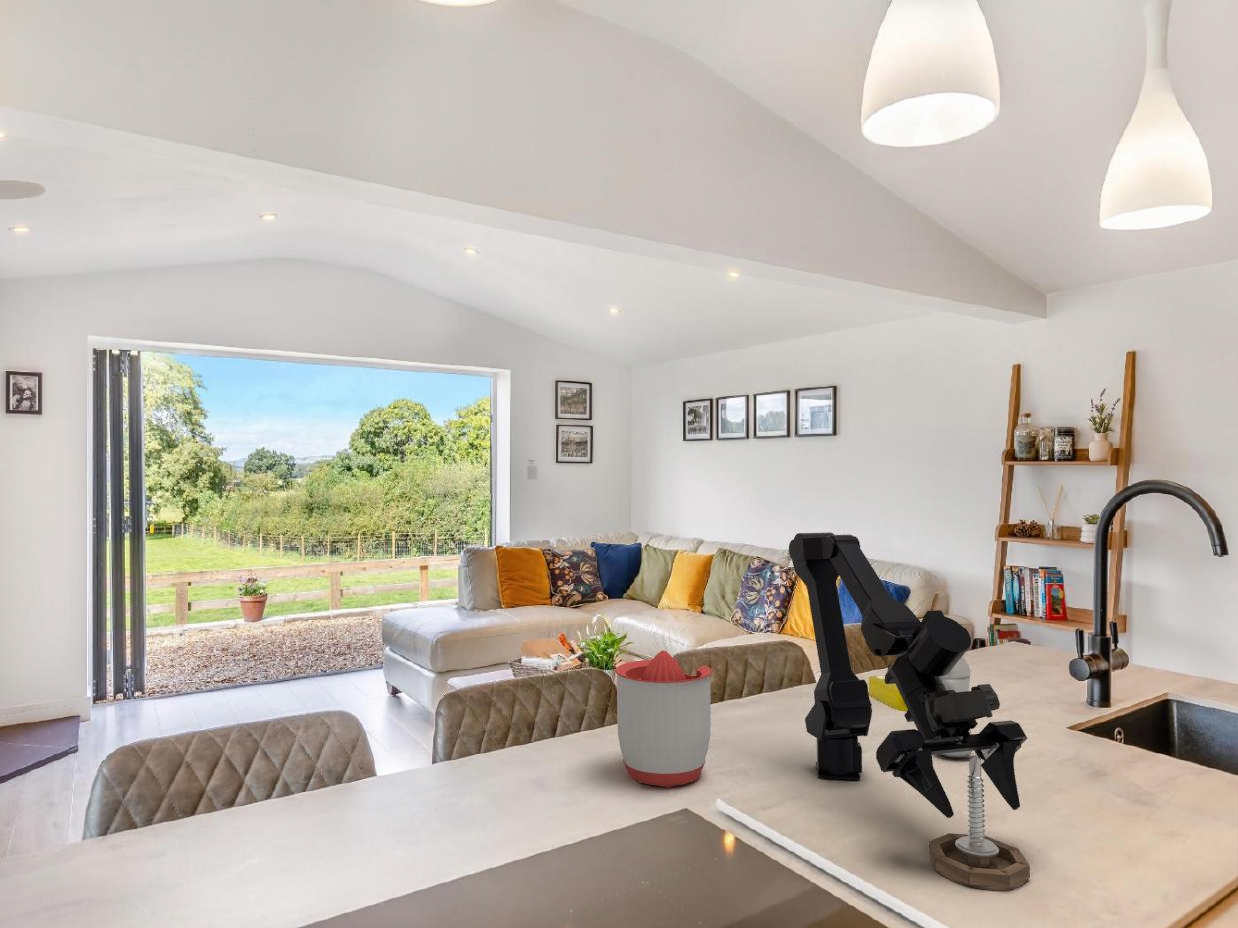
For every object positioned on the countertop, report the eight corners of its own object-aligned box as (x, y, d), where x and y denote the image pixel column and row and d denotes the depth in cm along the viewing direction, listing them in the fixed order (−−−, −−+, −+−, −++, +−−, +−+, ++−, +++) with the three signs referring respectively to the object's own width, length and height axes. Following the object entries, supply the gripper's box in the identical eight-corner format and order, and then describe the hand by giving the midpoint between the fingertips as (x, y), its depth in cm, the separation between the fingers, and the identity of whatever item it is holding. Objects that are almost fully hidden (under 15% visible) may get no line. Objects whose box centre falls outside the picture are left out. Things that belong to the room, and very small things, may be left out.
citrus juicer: (738, 770, 128) (737, 647, 129) (671, 802, 115) (670, 665, 116) (664, 749, 139) (664, 636, 139) (595, 776, 126) (595, 650, 127)
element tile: (966, 709, 164) (966, 686, 164) (900, 713, 162) (900, 690, 162) (926, 691, 179) (925, 670, 179) (865, 695, 176) (864, 673, 177)
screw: (946, 858, 96) (977, 851, 98) (977, 876, 92) (1008, 869, 94) (944, 751, 97) (974, 746, 99) (974, 764, 92) (1006, 758, 94)
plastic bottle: (977, 763, 131) (975, 642, 132) (934, 760, 132) (932, 641, 133) (968, 750, 137) (966, 635, 138) (927, 748, 139) (925, 634, 139)
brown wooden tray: (940, 885, 91) (940, 869, 91) (923, 844, 101) (922, 830, 101) (1039, 894, 88) (1039, 878, 89) (1011, 851, 99) (1011, 837, 99)
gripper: (887, 666, 97) (946, 789, 86) (1014, 657, 102) (1087, 773, 91) (854, 712, 104) (905, 831, 93) (974, 703, 109) (1036, 815, 98)
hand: (984, 812), depth 94 cm, fingers open, 9 cm apart
